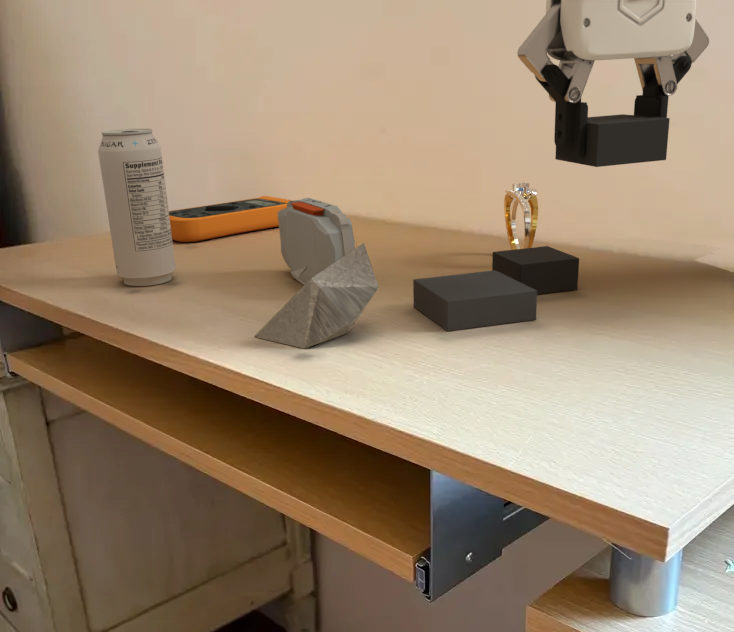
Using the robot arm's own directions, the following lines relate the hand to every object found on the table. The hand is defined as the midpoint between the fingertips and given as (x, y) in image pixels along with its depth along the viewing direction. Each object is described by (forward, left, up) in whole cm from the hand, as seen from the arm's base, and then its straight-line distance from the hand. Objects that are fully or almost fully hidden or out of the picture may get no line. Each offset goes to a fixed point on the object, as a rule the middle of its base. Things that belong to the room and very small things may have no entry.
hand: (609, 151), depth 64 cm
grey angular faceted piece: (+22, -6, -14) cm, 26 cm away
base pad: (+9, -6, -13) cm, 17 cm away
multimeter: (+23, -55, -14) cm, 61 cm away
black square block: (0, 0, -1) cm, 1 cm away
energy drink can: (+35, -31, -14) cm, 48 cm away
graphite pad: (0, -12, -13) cm, 18 cm away
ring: (-4, -23, -14) cm, 27 cm away
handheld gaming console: (+19, -22, -14) cm, 32 cm away
